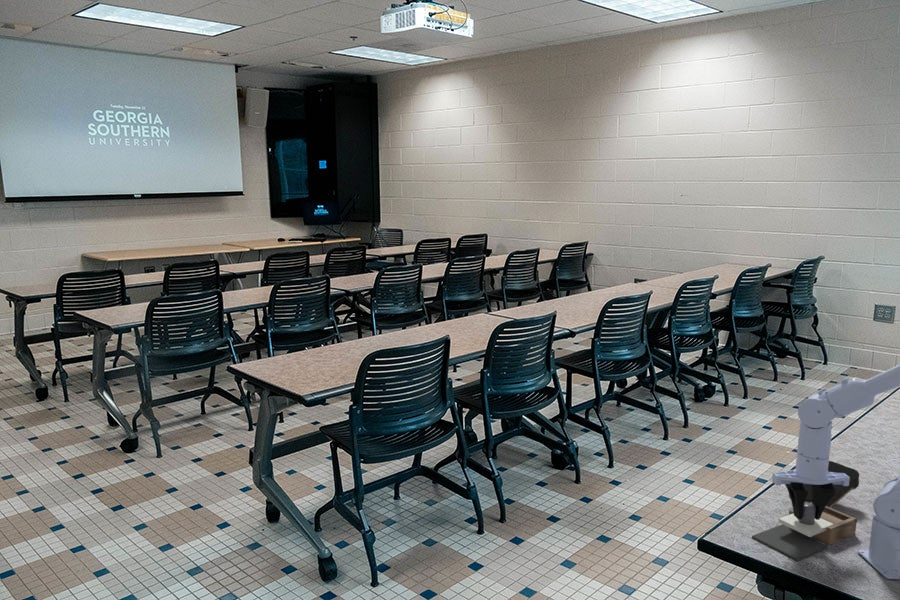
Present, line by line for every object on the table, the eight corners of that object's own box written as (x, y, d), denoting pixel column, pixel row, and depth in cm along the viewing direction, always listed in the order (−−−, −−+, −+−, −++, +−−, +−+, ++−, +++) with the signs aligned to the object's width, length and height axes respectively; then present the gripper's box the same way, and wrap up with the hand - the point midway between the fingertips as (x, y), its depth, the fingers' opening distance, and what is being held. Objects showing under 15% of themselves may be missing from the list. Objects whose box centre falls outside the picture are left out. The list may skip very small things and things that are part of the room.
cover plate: (802, 513, 145) (804, 494, 144) (833, 527, 139) (835, 507, 138) (778, 522, 141) (780, 502, 140) (809, 537, 135) (811, 516, 134)
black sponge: (825, 471, 161) (825, 458, 160) (862, 485, 155) (862, 471, 153) (785, 503, 154) (784, 489, 152) (822, 519, 147) (822, 504, 145)
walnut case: (813, 515, 149) (815, 500, 148) (855, 534, 141) (856, 518, 141) (787, 525, 144) (789, 510, 144) (829, 545, 137) (830, 528, 136)
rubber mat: (782, 525, 144) (782, 524, 144) (828, 547, 136) (828, 545, 136) (751, 537, 140) (751, 535, 139) (797, 560, 131) (797, 559, 131)
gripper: (838, 446, 141) (831, 508, 143) (767, 446, 141) (762, 507, 143) (858, 460, 134) (850, 525, 136) (783, 459, 134) (777, 524, 136)
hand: (806, 517), depth 139 cm, fingers closed on cover plate, 3 cm apart
